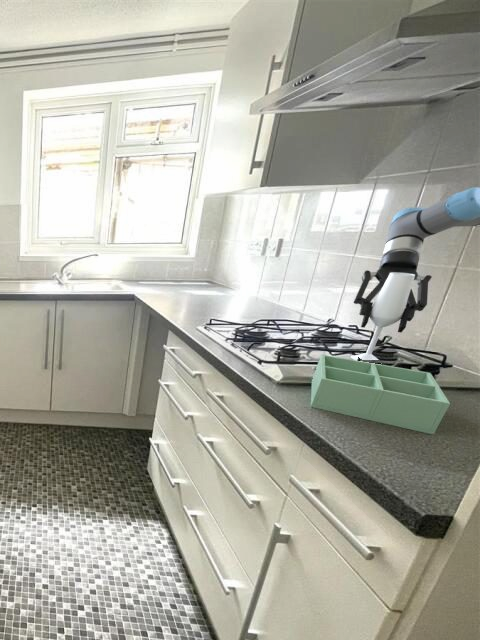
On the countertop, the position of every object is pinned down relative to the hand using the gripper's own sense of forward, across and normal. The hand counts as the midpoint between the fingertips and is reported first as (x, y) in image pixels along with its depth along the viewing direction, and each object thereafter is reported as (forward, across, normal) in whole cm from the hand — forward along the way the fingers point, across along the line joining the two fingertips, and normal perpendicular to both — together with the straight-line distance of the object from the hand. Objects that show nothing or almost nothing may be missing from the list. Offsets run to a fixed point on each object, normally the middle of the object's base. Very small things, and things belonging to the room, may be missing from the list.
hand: (382, 327), depth 111 cm
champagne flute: (+5, 0, -10) cm, 11 cm away
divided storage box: (+31, +2, +16) cm, 35 cm away
